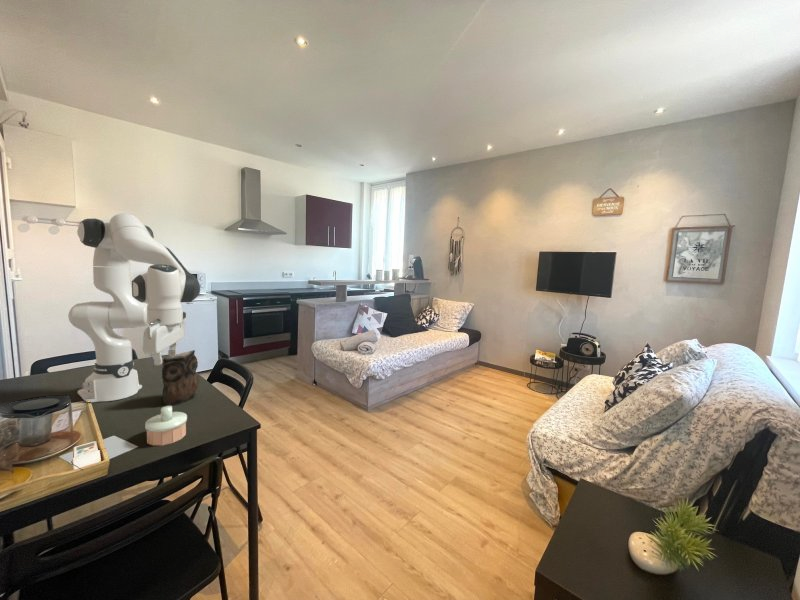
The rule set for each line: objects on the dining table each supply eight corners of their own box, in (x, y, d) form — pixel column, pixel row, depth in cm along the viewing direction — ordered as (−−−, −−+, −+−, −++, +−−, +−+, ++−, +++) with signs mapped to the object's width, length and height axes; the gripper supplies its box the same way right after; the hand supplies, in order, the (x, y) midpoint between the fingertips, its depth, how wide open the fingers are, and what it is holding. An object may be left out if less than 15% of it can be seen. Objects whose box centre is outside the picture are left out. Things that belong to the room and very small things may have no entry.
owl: (200, 392, 140) (199, 348, 138) (193, 405, 128) (193, 356, 126) (165, 395, 135) (164, 349, 133) (155, 408, 123) (154, 358, 121)
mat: (58, 457, 92) (58, 456, 91) (113, 436, 103) (113, 435, 103) (83, 471, 87) (83, 470, 86) (138, 447, 98) (138, 446, 98)
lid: (135, 430, 99) (135, 414, 98) (163, 413, 110) (163, 399, 109) (169, 433, 99) (169, 417, 98) (194, 416, 109) (194, 402, 109)
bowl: (139, 440, 102) (139, 426, 101) (173, 426, 111) (172, 413, 111) (159, 449, 98) (159, 434, 98) (192, 434, 107) (192, 420, 107)
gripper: (161, 323, 91) (162, 370, 93) (188, 311, 111) (189, 350, 112) (134, 323, 90) (136, 371, 91) (167, 311, 109) (168, 350, 111)
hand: (165, 359), depth 102 cm, fingers open, 8 cm apart
